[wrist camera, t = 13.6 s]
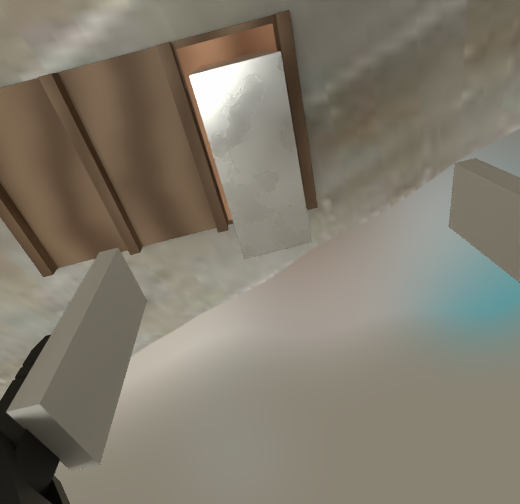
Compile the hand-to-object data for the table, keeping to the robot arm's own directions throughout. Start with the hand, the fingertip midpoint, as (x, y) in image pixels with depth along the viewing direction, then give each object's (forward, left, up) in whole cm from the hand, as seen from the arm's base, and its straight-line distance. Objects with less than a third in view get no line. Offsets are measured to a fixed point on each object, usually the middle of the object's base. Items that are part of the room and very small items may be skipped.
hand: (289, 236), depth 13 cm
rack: (+9, 0, -20) cm, 22 cm away
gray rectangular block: (0, 0, -19) cm, 19 cm away
